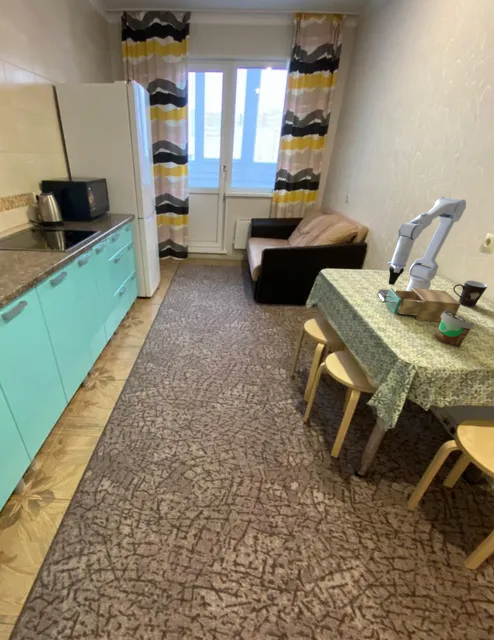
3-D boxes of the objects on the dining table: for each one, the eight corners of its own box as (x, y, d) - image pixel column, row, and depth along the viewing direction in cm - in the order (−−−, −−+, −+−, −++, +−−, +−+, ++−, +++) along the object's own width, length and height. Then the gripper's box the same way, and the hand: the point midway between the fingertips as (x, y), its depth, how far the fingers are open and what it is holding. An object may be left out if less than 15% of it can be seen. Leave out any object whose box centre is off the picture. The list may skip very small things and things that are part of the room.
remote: (383, 301, 153) (385, 295, 152) (377, 294, 162) (379, 288, 160) (392, 302, 153) (394, 296, 151) (386, 295, 161) (388, 289, 159)
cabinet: (417, 319, 138) (425, 300, 134) (405, 305, 151) (412, 287, 146) (451, 322, 137) (460, 303, 132) (437, 308, 149) (445, 290, 145)
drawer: (381, 313, 140) (386, 298, 137) (373, 301, 152) (378, 287, 148) (424, 317, 138) (431, 302, 135) (413, 305, 149) (419, 290, 146)
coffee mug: (478, 304, 156) (489, 284, 151) (475, 309, 150) (486, 288, 145) (450, 297, 162) (459, 277, 157) (446, 301, 157) (456, 281, 152)
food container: (424, 332, 129) (435, 308, 123) (439, 332, 129) (450, 308, 124) (446, 348, 118) (459, 323, 113) (462, 348, 119) (475, 323, 113)
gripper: (392, 248, 145) (382, 277, 152) (390, 255, 134) (380, 287, 141) (410, 250, 142) (399, 280, 149) (410, 258, 131) (398, 290, 138)
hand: (391, 284), depth 145 cm, fingers closed
